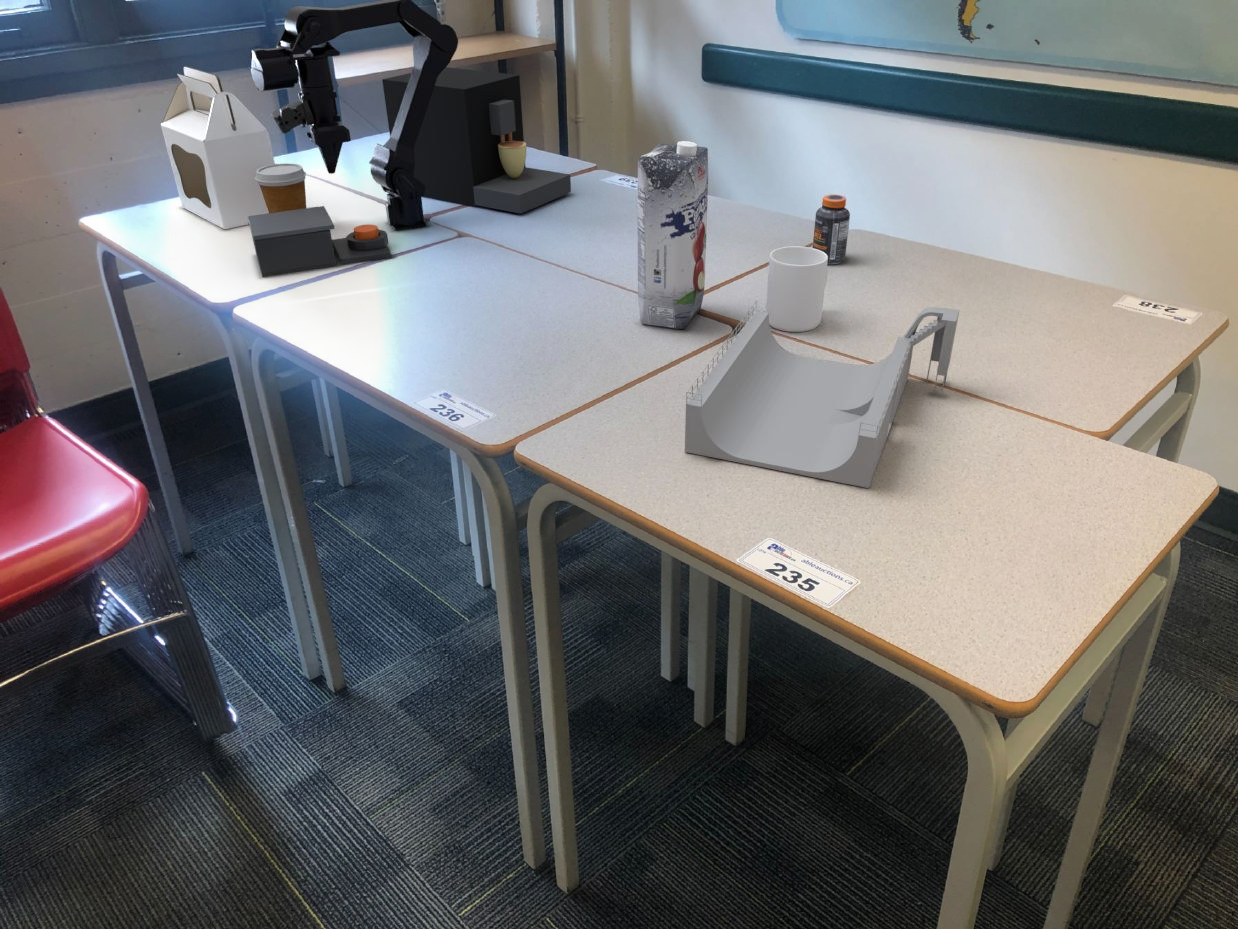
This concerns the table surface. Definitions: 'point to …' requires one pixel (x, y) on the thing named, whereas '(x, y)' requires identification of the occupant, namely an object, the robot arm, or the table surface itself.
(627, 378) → the table surface
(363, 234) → the button
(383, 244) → the button base
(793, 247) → the mug
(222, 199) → the gable box
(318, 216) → the lid
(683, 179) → the juice carton
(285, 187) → the disposable coffee cup
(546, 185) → the coffee maker
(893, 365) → the skate ramp
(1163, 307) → the table surface
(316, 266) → the dark grey boxy piece
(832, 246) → the pill bottle
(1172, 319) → the table surface
